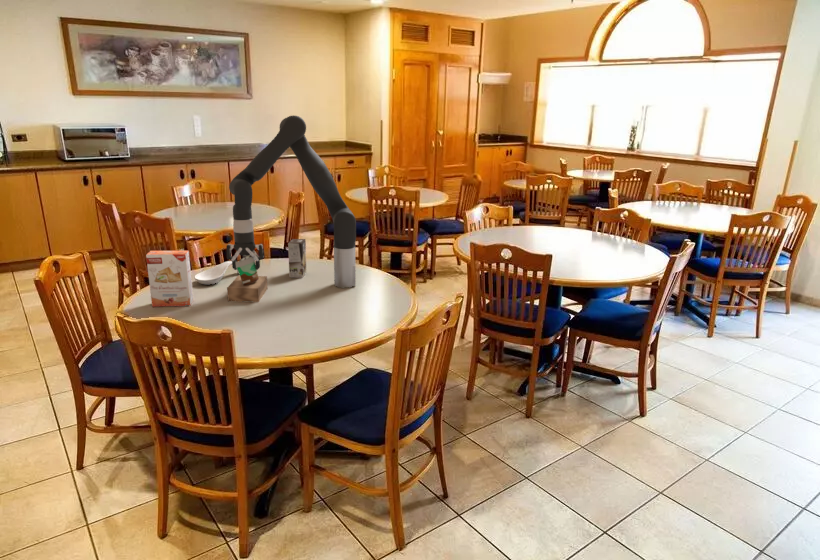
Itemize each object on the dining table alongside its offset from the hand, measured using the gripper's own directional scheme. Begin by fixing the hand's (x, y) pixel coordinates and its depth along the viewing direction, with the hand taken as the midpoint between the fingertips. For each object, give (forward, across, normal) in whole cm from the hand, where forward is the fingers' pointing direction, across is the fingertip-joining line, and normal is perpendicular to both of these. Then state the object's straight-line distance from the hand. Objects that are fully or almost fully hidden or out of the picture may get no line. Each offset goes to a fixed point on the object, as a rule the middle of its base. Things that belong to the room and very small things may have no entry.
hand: (246, 269), depth 216 cm
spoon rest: (+11, +16, -21) cm, 29 cm away
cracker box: (+11, +26, +11) cm, 30 cm away
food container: (+5, -3, 0) cm, 6 cm away
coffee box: (+11, -17, -28) cm, 35 cm away
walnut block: (+11, 0, 0) cm, 11 cm away
